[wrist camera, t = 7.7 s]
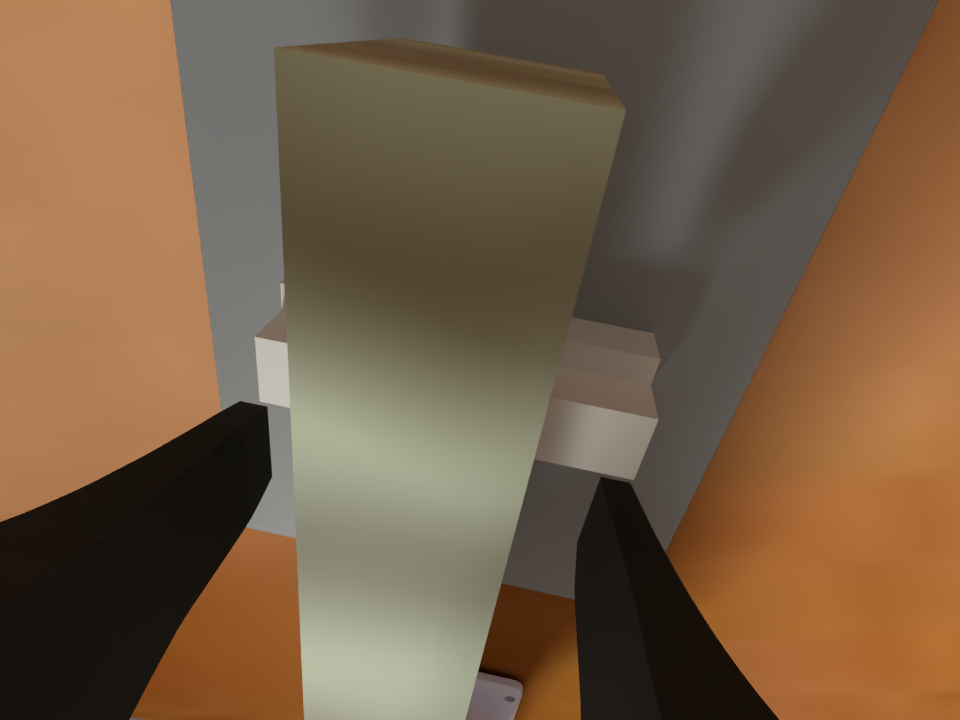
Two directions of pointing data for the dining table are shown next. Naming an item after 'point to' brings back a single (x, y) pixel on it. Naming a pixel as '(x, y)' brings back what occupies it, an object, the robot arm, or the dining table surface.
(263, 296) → the stand
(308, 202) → the bar
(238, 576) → the dining table surface
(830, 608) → the dining table surface
